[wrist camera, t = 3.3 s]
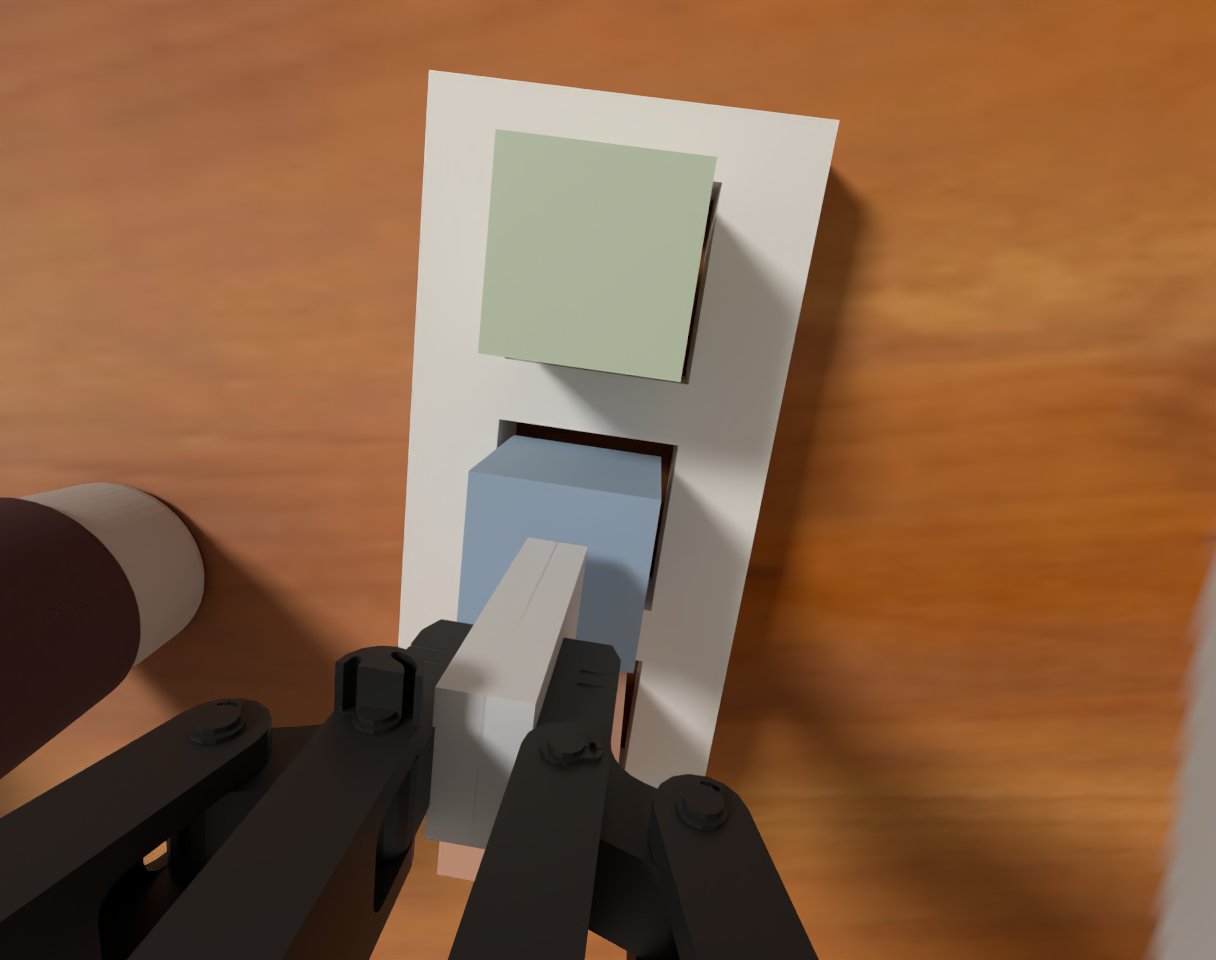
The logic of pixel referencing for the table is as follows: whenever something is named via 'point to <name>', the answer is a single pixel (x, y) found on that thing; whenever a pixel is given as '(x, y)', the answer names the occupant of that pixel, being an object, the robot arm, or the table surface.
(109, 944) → the robot arm
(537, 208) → the button sage
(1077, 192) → the table surface
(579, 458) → the button slate
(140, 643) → the coffee cup
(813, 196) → the button board
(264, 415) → the table surface
